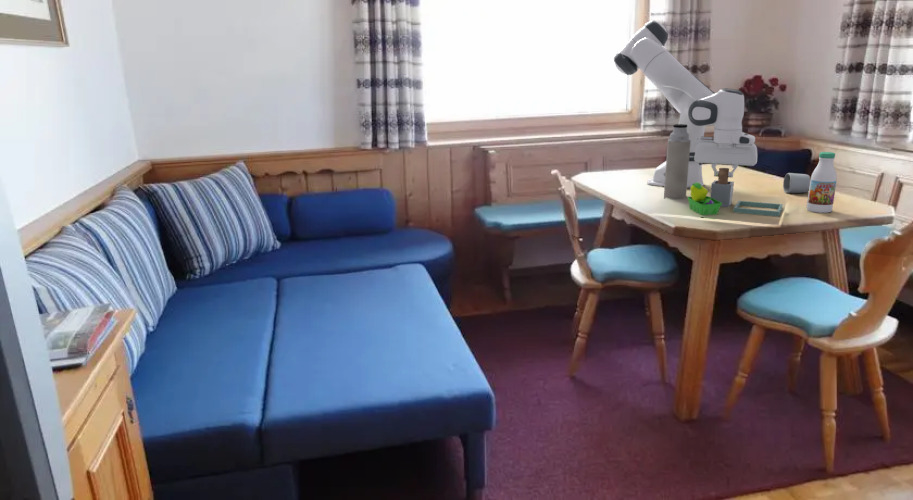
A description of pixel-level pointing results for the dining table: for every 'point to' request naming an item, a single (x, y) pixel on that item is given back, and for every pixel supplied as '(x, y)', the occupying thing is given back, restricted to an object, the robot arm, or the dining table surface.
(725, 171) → the dowel pin
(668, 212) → the dining table surface
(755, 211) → the tray
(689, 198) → the fruit basket
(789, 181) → the ceramic mug
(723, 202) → the pen cup
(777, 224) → the dining table surface
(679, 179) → the thermos bottle
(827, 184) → the milk bottle
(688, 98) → the robot arm
